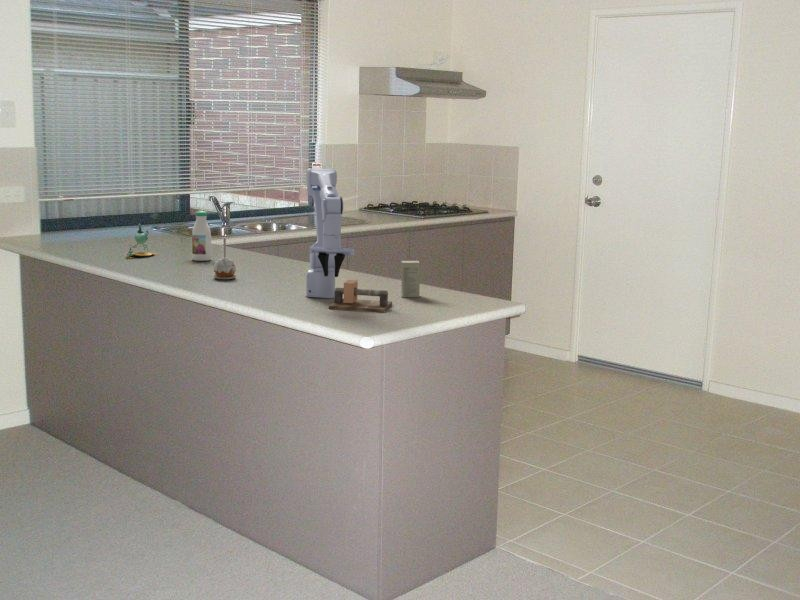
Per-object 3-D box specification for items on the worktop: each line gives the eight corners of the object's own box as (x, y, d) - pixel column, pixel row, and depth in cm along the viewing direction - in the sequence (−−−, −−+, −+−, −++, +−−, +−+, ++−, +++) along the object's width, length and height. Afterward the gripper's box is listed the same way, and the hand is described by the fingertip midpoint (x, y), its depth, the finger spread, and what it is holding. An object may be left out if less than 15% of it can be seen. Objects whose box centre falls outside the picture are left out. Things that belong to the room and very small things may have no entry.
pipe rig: (328, 308, 299) (328, 290, 298) (339, 301, 311) (339, 283, 310) (383, 312, 296) (384, 294, 294) (392, 304, 308) (392, 287, 307)
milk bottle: (202, 257, 394) (201, 210, 390) (215, 259, 390) (214, 211, 386) (188, 259, 388) (187, 211, 384) (201, 262, 384) (200, 213, 380)
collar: (343, 302, 301) (343, 283, 300) (348, 299, 307) (348, 279, 306) (352, 303, 300) (352, 283, 299) (357, 299, 307) (357, 280, 305)
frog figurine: (114, 257, 390) (115, 222, 388) (148, 257, 404) (150, 223, 403) (128, 259, 384) (130, 223, 383) (163, 260, 399) (165, 225, 397)
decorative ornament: (239, 279, 347) (239, 239, 344) (220, 281, 342) (220, 240, 339) (229, 276, 353) (228, 236, 350) (210, 277, 348) (210, 237, 345)
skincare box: (418, 295, 325) (420, 260, 323) (419, 297, 321) (420, 262, 319) (400, 295, 325) (401, 260, 323) (400, 297, 321) (401, 262, 318)
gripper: (306, 234, 298) (306, 276, 301) (350, 237, 296) (350, 279, 298) (312, 232, 305) (312, 273, 308) (356, 234, 302) (355, 276, 305)
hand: (331, 276), depth 303 cm, fingers open, 3 cm apart
